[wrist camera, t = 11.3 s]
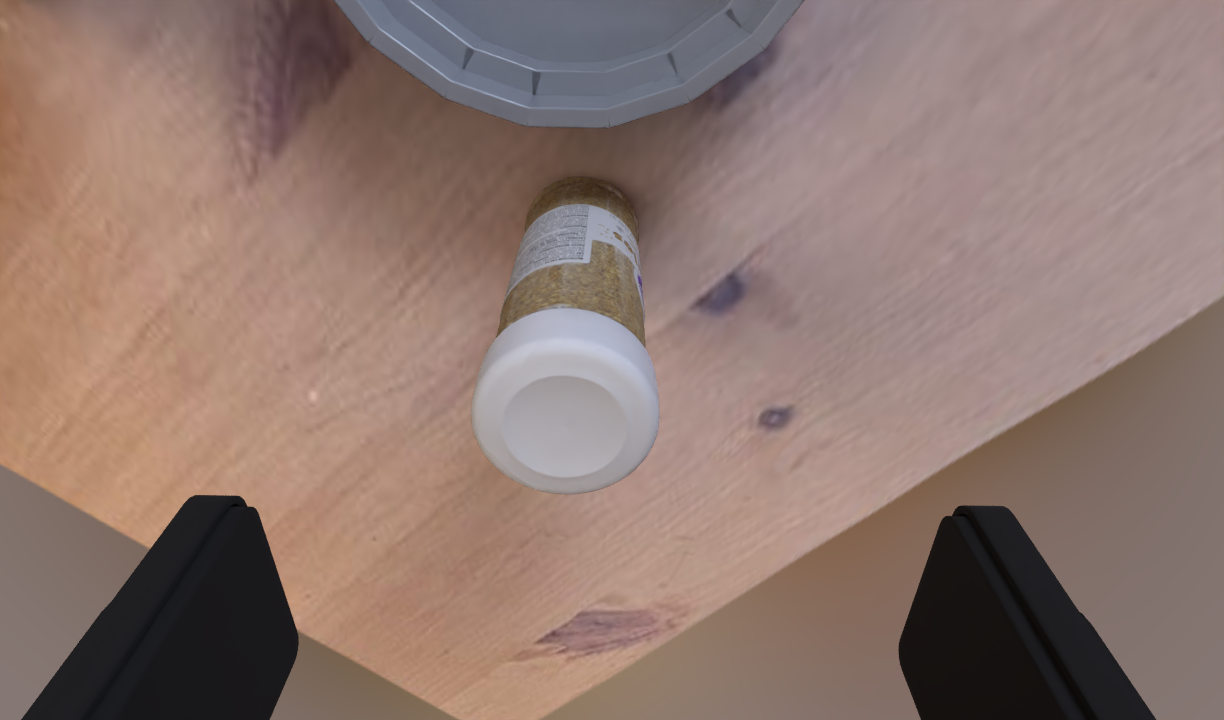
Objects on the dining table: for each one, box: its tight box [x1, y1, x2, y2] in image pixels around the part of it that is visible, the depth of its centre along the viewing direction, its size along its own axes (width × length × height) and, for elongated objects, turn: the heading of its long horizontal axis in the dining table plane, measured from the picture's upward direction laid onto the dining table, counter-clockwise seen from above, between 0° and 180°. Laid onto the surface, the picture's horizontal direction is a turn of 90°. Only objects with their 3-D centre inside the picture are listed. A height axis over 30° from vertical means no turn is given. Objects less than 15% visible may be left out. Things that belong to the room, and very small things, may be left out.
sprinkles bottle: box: [471, 177, 659, 494], centre depth 23 cm, size 5×5×13 cm
